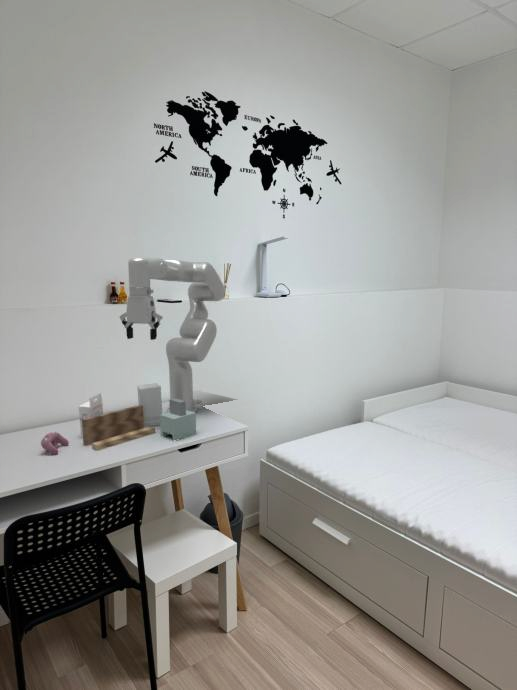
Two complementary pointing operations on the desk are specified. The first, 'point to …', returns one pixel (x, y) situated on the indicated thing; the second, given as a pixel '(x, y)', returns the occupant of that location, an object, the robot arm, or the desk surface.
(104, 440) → the curved brown board
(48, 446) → the video game controller
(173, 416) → the mint green block
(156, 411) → the skincare box
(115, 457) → the desk surface
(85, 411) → the ink cartridge box
